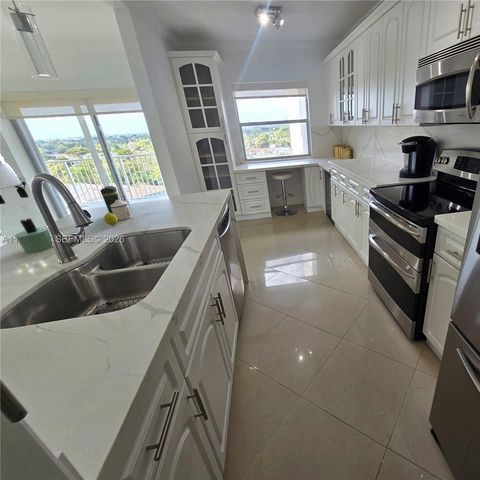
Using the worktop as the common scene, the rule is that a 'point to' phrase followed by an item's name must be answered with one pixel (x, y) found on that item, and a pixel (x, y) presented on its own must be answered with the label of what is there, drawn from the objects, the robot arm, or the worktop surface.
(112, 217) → the lemon
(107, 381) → the worktop surface
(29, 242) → the green round open container
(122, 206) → the teacup with lid
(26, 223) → the lid
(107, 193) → the coffee jar
